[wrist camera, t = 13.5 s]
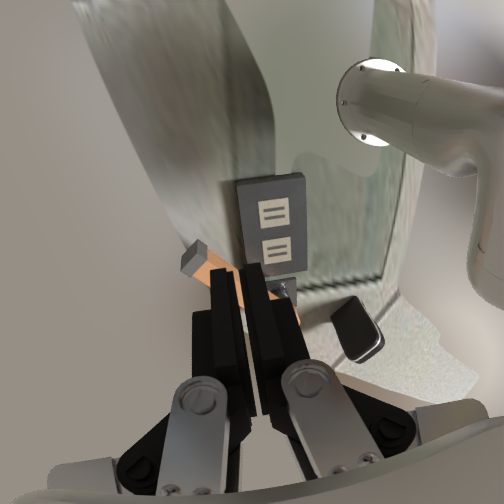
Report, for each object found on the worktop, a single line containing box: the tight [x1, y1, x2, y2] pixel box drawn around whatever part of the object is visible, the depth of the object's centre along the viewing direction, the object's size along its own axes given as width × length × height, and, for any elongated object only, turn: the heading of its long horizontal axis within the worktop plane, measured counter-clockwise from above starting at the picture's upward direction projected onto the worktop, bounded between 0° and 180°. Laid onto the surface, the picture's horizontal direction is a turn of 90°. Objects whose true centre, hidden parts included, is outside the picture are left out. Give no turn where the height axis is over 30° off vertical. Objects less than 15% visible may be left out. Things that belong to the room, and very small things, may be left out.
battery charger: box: [330, 296, 385, 364], centre depth 53 cm, size 7×4×11 cm, turn 137°
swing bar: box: [181, 239, 300, 325], centre depth 45 cm, size 4×20×3 cm, turn 46°
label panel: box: [235, 173, 307, 277], centre depth 45 cm, size 9×15×2 cm, turn 5°
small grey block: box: [266, 277, 297, 307], centre depth 52 cm, size 6×6×4 cm
